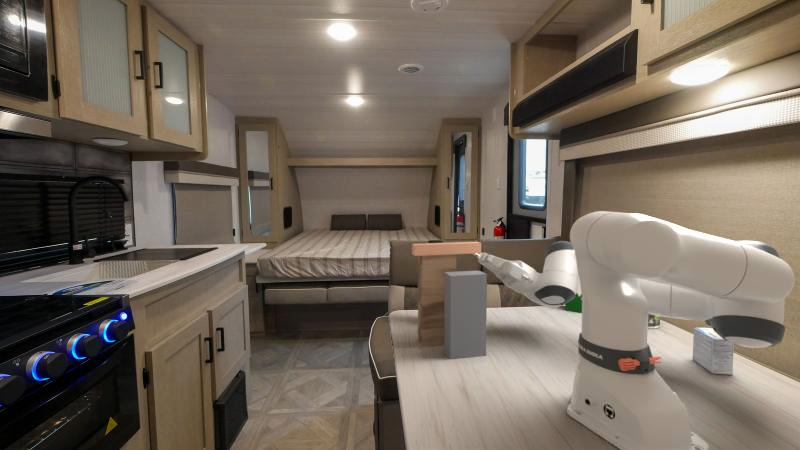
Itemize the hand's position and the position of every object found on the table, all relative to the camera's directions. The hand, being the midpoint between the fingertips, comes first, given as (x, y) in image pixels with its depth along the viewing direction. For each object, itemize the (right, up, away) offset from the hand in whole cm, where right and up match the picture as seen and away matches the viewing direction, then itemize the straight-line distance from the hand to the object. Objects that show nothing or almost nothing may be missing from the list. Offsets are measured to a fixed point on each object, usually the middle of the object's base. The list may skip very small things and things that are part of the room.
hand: (480, 254), depth 108 cm
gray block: (-6, -26, -10) cm, 29 cm away
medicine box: (+53, -27, -19) cm, 62 cm away
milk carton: (+43, -23, +28) cm, 56 cm away
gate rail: (-10, 0, -3) cm, 11 cm away
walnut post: (-13, -26, -2) cm, 29 cm away
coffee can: (+56, -24, +13) cm, 63 cm away
